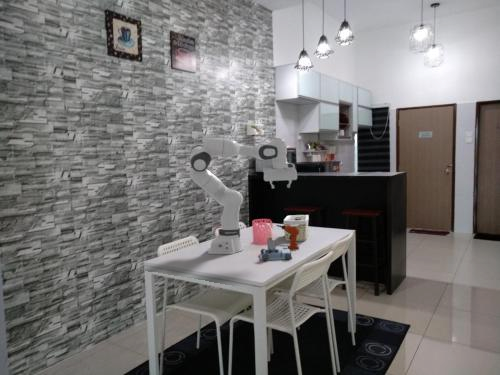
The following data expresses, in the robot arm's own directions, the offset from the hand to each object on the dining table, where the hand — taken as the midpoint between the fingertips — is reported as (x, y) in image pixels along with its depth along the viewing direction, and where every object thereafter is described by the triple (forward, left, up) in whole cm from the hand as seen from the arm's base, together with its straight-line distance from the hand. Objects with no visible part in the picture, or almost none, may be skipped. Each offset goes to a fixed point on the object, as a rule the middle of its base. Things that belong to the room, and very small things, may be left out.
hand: (280, 187), depth 235 cm
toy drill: (+4, +8, -39) cm, 40 cm away
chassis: (-6, -13, -39) cm, 42 cm away
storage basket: (+14, +35, -40) cm, 54 cm away
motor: (-8, -13, -38) cm, 41 cm away
